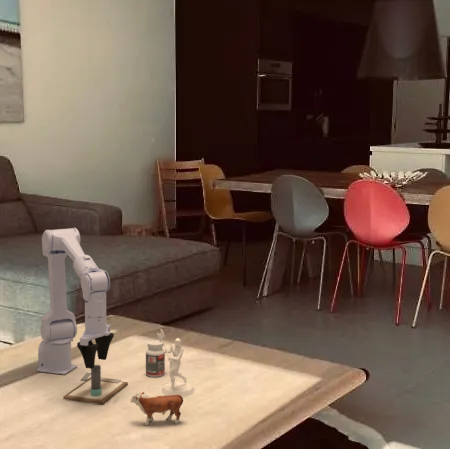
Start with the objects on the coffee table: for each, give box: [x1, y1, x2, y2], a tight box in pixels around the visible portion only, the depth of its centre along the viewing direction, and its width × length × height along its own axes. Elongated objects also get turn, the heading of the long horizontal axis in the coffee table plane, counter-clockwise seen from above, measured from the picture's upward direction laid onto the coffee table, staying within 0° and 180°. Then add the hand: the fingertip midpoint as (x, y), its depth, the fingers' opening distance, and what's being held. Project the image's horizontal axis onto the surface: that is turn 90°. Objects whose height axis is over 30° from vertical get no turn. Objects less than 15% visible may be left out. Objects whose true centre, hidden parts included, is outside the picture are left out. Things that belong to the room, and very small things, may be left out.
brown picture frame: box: [62, 376, 129, 406], centre depth 212 cm, size 12×16×1 cm
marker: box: [90, 364, 102, 396], centre depth 207 cm, size 3×3×8 cm
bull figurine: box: [130, 391, 184, 427], centre depth 192 cm, size 4×13×8 cm, turn 95°
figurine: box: [156, 328, 195, 397], centre depth 213 cm, size 10×10×18 cm
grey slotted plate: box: [80, 372, 91, 382], centre depth 224 cm, size 4×6×1 cm, turn 173°
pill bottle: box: [145, 339, 166, 378], centre depth 227 cm, size 6×6×10 cm
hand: (96, 363), depth 207 cm, fingers open, 7 cm apart
